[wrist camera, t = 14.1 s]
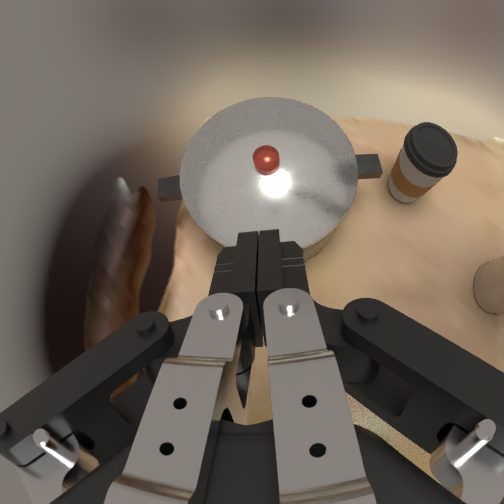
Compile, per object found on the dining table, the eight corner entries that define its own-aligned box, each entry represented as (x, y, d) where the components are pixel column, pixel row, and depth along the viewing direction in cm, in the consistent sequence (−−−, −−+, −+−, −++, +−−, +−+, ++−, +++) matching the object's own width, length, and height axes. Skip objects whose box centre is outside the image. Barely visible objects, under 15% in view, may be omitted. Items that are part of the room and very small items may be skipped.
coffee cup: (416, 218, 47) (454, 181, 33) (375, 194, 49) (401, 150, 34) (429, 181, 48) (464, 138, 34) (390, 159, 50) (416, 110, 35)
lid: (183, 270, 37) (173, 265, 34) (184, 116, 43) (178, 102, 40) (372, 251, 35) (379, 244, 32) (336, 97, 41) (338, 82, 37)
